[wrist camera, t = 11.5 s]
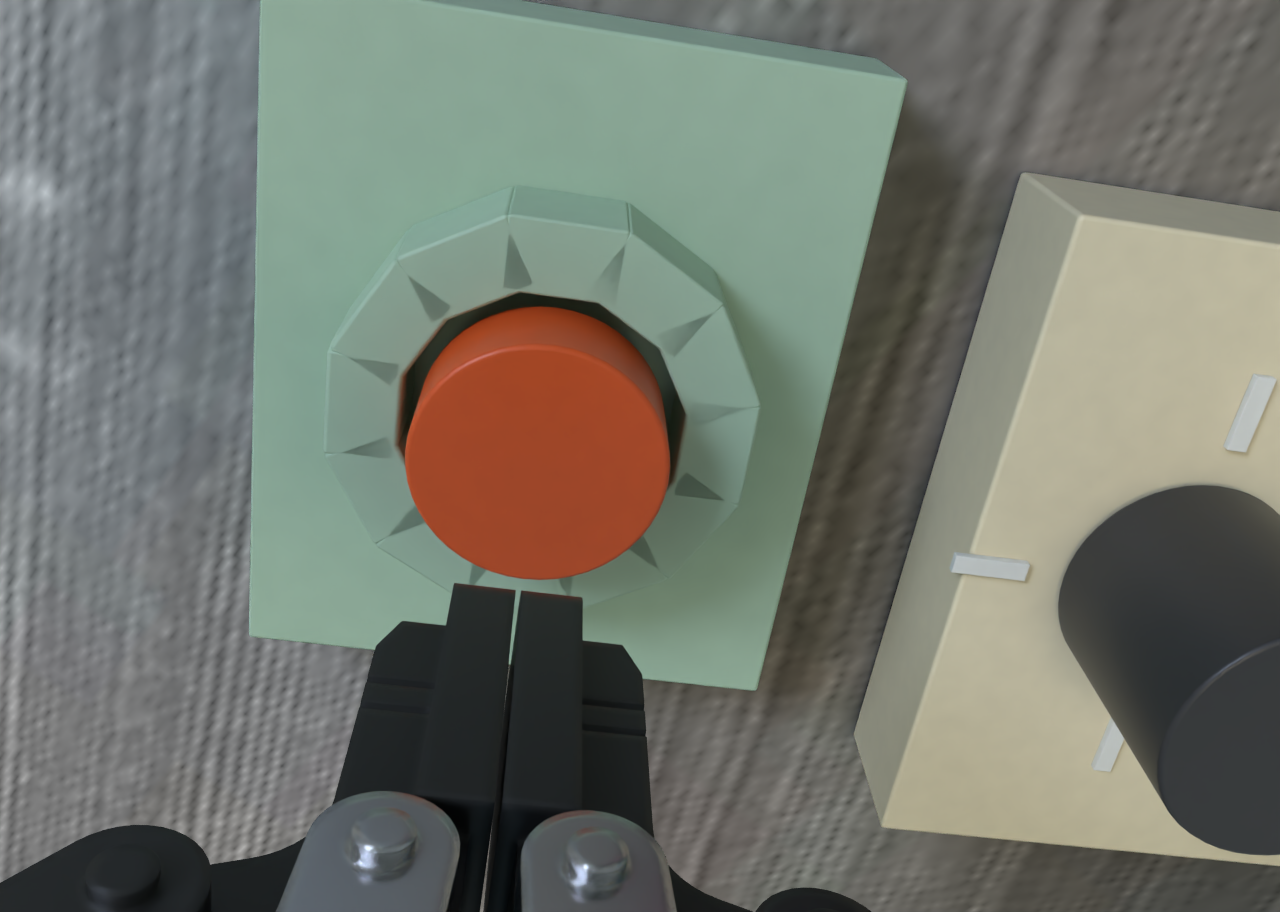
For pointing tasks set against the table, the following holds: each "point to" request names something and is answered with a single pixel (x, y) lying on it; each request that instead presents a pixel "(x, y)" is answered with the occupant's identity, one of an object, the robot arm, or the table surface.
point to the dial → (1189, 653)
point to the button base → (549, 293)
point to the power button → (539, 444)
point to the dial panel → (1067, 505)
